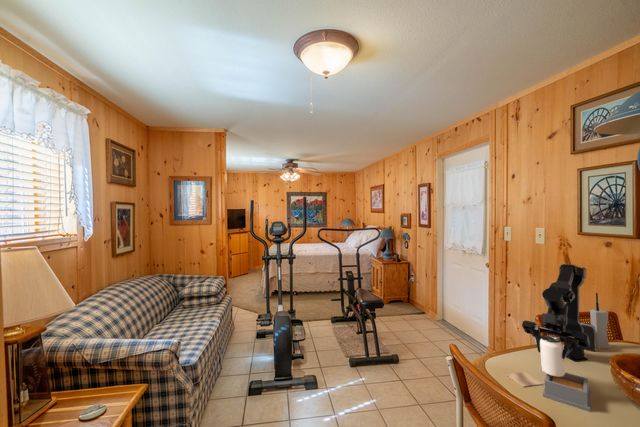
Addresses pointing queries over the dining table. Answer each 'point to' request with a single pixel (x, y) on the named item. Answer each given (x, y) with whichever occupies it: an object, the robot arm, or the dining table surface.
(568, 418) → the dining table surface
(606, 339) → the vintage mobile phone
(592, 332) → the battery
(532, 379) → the tan wavy cloth
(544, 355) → the can
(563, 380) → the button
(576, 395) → the grey open box
